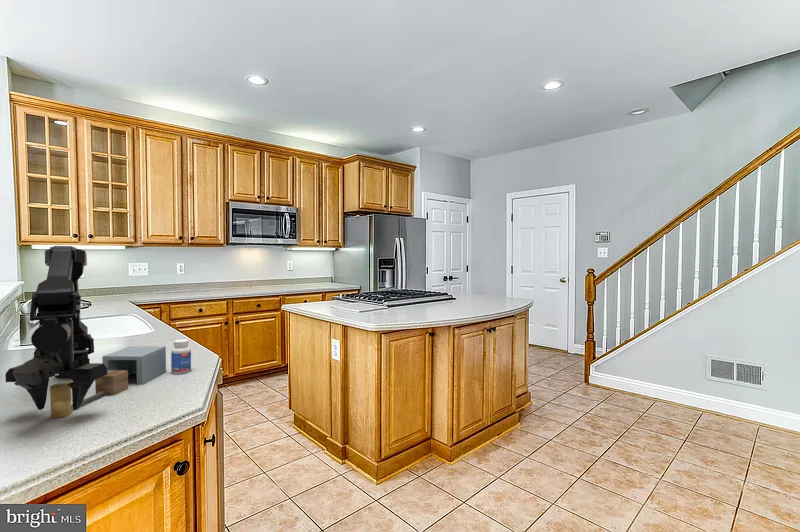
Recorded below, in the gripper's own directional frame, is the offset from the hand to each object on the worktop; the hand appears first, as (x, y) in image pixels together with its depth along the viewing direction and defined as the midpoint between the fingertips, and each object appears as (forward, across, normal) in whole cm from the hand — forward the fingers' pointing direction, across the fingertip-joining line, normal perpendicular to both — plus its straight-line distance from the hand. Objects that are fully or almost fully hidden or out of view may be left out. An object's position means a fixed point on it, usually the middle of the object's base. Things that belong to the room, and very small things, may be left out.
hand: (58, 409), depth 90 cm
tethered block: (+1, +1, +8) cm, 9 cm away
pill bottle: (+2, +10, +33) cm, 35 cm away
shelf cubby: (+2, 0, +26) cm, 26 cm away
